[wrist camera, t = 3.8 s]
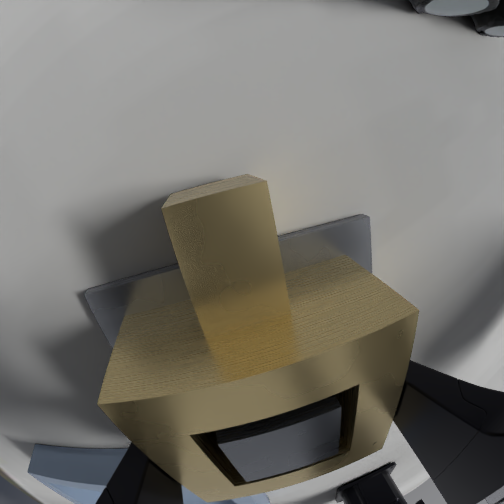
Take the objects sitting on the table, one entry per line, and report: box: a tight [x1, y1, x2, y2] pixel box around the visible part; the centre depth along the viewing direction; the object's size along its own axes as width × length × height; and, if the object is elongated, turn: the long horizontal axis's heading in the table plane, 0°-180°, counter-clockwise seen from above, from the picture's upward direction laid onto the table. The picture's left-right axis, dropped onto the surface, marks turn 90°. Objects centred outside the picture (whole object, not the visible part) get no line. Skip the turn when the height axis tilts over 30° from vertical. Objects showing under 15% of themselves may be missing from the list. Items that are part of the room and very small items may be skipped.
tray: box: [28, 444, 270, 504], centre depth 11 cm, size 13×13×2 cm
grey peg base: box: [84, 214, 372, 482], centre depth 8 cm, size 9×9×4 cm
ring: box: [97, 174, 419, 503], centre depth 7 cm, size 10×7×4 cm
